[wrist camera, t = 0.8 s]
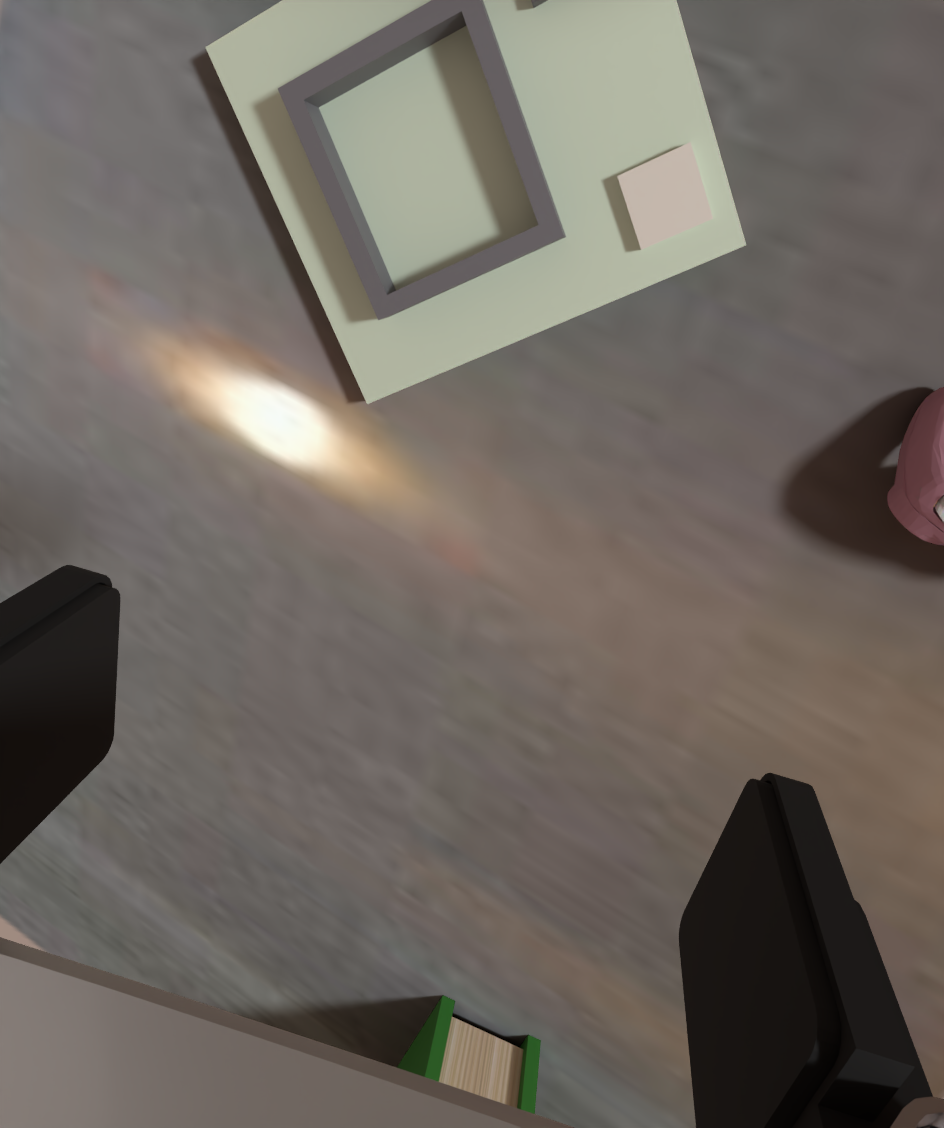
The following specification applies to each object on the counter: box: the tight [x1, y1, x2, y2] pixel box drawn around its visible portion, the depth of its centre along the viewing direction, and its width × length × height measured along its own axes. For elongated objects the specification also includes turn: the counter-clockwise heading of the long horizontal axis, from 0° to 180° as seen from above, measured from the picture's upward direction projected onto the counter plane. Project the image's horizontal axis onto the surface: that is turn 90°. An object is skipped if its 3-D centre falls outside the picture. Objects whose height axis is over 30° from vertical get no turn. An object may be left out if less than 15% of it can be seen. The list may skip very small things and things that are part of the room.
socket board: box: [205, 0, 746, 404], centre depth 32 cm, size 18×16×3 cm
